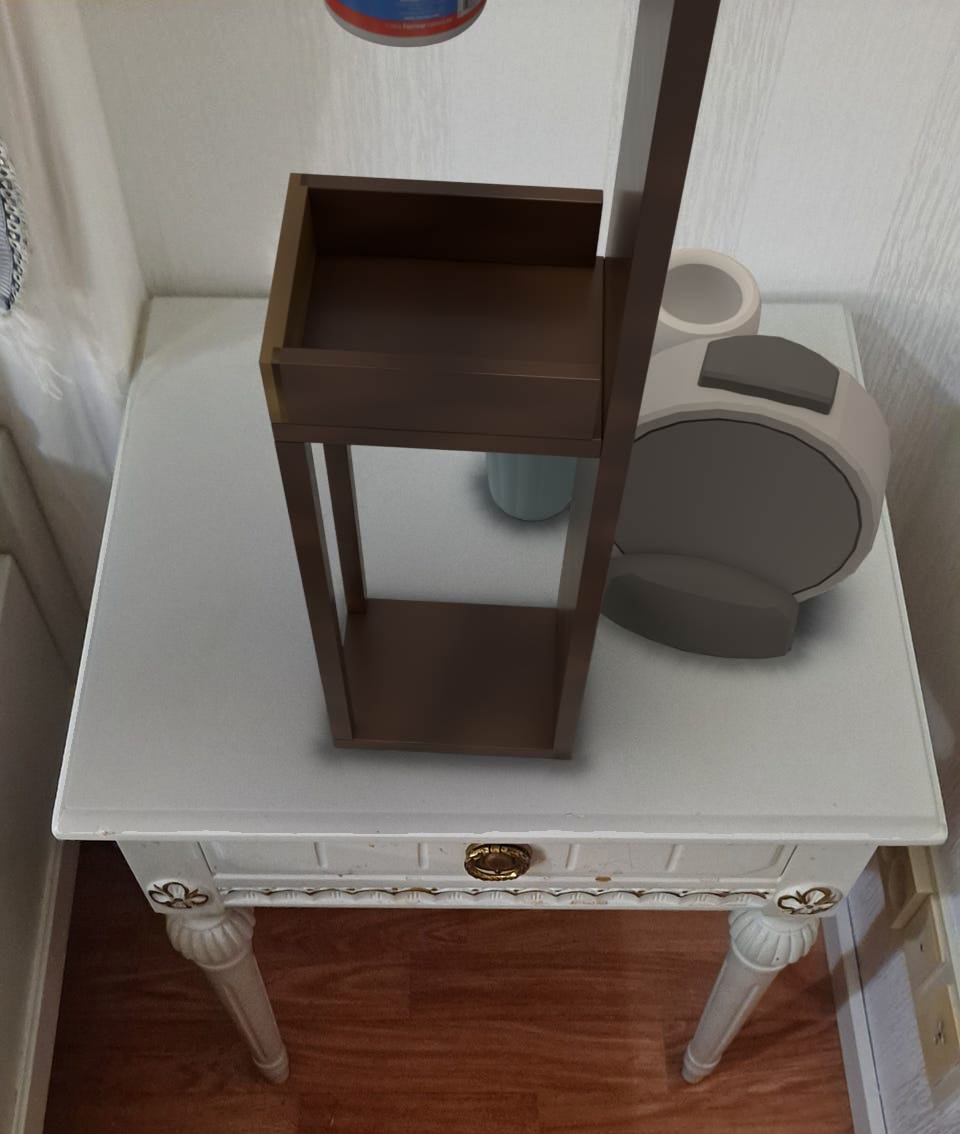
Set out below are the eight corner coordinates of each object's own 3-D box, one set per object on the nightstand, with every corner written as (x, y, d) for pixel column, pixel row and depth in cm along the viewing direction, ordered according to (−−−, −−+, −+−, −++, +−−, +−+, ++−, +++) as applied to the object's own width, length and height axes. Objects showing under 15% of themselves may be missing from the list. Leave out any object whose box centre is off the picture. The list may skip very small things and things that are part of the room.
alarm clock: (839, 551, 75) (951, 320, 58) (814, 682, 71) (926, 475, 54) (595, 494, 76) (636, 252, 60) (558, 619, 73) (589, 398, 56)
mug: (611, 338, 82) (627, 240, 75) (731, 336, 82) (758, 238, 75) (628, 473, 77) (646, 382, 70) (754, 471, 78) (785, 380, 70)
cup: (614, 501, 76) (635, 378, 67) (518, 554, 74) (526, 436, 65) (546, 426, 79) (558, 297, 69) (451, 476, 77) (450, 350, 67)
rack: (333, 747, 69) (180, -32, 30) (349, 605, 73) (232, -243, 34) (571, 760, 69) (721, -3, 30) (574, 617, 73) (710, -218, 34)
